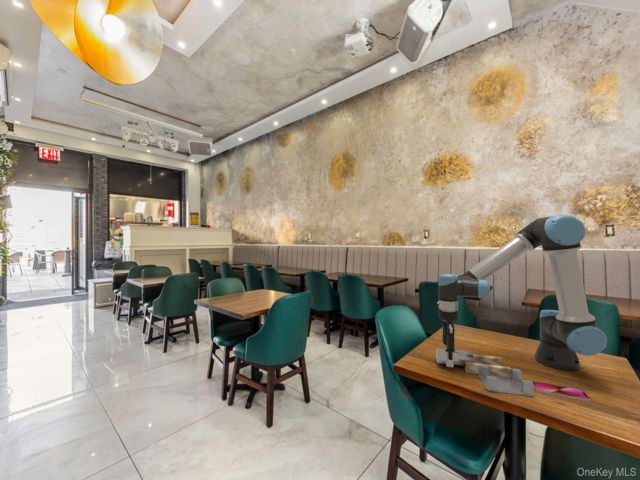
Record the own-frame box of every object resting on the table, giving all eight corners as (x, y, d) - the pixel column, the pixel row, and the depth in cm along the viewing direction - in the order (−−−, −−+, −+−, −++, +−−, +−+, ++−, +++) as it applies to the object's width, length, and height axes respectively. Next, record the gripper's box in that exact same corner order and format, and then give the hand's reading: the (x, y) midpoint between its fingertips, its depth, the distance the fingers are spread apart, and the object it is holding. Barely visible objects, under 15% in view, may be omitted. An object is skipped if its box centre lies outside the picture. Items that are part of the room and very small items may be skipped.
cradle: (519, 380, 106) (519, 369, 106) (533, 396, 95) (533, 383, 95) (478, 376, 109) (478, 364, 109) (487, 390, 99) (488, 378, 99)
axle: (470, 364, 119) (470, 349, 120) (474, 368, 113) (474, 353, 114) (435, 360, 123) (435, 346, 123) (438, 365, 117) (437, 350, 118)
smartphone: (531, 380, 105) (582, 389, 98) (531, 383, 105) (582, 392, 98) (536, 390, 98) (592, 400, 92) (536, 392, 98) (592, 403, 92)
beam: (500, 366, 119) (500, 357, 119) (511, 379, 108) (511, 369, 108) (459, 361, 123) (459, 352, 123) (466, 373, 112) (466, 364, 112)
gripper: (435, 304, 129) (435, 353, 129) (442, 315, 111) (442, 372, 111) (452, 305, 127) (453, 355, 127) (462, 316, 109) (463, 374, 109)
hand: (448, 363), depth 119 cm, fingers closed on axle, 6 cm apart
